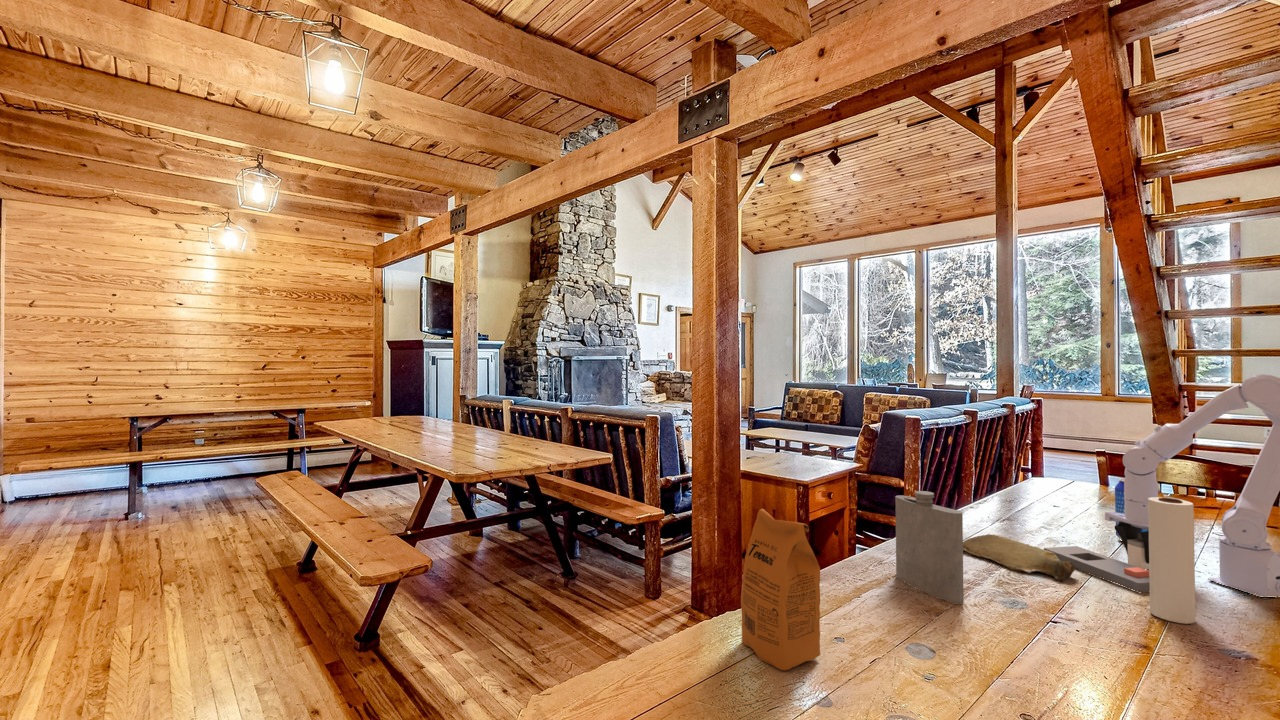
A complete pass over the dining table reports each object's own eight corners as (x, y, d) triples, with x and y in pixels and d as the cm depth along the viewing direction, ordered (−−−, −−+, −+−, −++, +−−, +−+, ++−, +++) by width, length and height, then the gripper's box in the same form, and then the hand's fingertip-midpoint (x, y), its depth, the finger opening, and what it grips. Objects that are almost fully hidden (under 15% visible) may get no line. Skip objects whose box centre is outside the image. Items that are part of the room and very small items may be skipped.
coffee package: (779, 628, 98) (778, 503, 98) (830, 662, 86) (828, 521, 86) (731, 639, 94) (730, 509, 94) (777, 677, 82) (776, 528, 82)
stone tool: (1090, 575, 120) (982, 542, 143) (1088, 557, 120) (980, 527, 143) (1055, 590, 116) (950, 554, 139) (1053, 571, 116) (948, 538, 139)
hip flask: (967, 602, 108) (966, 499, 108) (951, 605, 106) (950, 501, 107) (904, 573, 123) (903, 483, 123) (889, 576, 121) (888, 484, 122)
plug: (1156, 569, 125) (1156, 535, 125) (1141, 570, 124) (1141, 536, 124) (1142, 564, 128) (1142, 531, 128) (1127, 565, 127) (1127, 532, 127)
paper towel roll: (1180, 626, 97) (1178, 504, 97) (1141, 612, 103) (1139, 497, 103) (1209, 621, 99) (1206, 502, 99) (1168, 607, 105) (1166, 494, 105)
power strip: (1176, 590, 113) (1176, 575, 113) (1138, 593, 112) (1138, 578, 112) (1076, 554, 135) (1076, 541, 135) (1043, 556, 133) (1043, 543, 133)
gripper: (1192, 507, 120) (1193, 570, 120) (1120, 492, 134) (1121, 548, 134) (1167, 509, 118) (1168, 572, 118) (1097, 494, 132) (1098, 551, 132)
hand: (1142, 560), depth 126 cm, fingers closed on plug, 3 cm apart
